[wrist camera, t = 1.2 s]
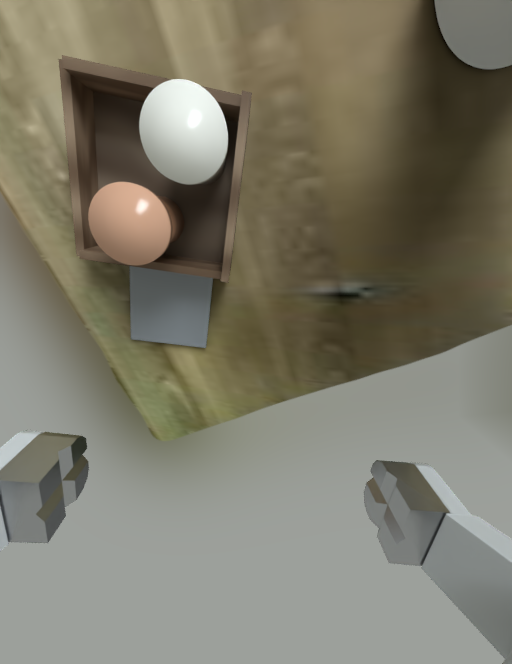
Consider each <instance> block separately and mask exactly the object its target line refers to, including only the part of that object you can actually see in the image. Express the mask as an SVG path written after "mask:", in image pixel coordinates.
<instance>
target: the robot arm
mask: <svg viewBox="0 0 512 664" xmlns="http://www.w3.org/2000/svg"><path fill="white" fill-rule="evenodd" d="M434 1H435V9H436V15H437V20H438V24H439V27H440V30H441V33H442V35H443V37H444V39H445V41H446V43H447V45H448V46H449V48H450V49H451V50H452V52H453V53H454V54H455V55H456V56H457V57H458V58H459V59H461V60H462V61H463V62H465V63H467V64H468V65H471V66H473V67H476V68H481V69H498V68H503V67H507V66H510V65H512V0H434ZM86 449H87V443H86V438H85V437H83V436H78V435H69V434H60V433H50V432H37V431H28V430H25V431H22V432H19V433H17V434H16V435H15V436H14V437H13V438H11V439H10V440H9V441H8V442H7V443H5V444H4V445H3V446H2V447H1V448H0V550H2V549H3V548H5V547H6V546H7V545H8V544H9V542H27V543H28V542H29V543H48V542H49V541H50V539H51V537H52V536H53V535H54V533H55V531H56V530H57V529H58V527H59V525H60V524H61V523H62V521H63V519H64V518H65V516H66V513H65V507H66V506H68V505H69V504H70V503H72V502H74V501H75V500H77V498H78V496H79V495H80V493H81V492H82V490H83V488H84V485H85V483H86V480H87V477H88V470H89V465H88V461H87V459H86V458H85V457H84V456H83V455H82V454H83V453H84V452H85V450H86ZM371 473H372V475H373V478H372V479H371V480H370V481H368V482H367V483H366V487H365V491H364V503H365V507H366V511H367V513H368V516H369V518H370V520H371V521H372V522H373V523H374V524H375V525H376V526H377V527H378V528H379V531H378V535H377V537H378V539H379V542H380V544H381V546H382V548H383V551H384V553H385V555H386V557H387V560H388V562H389V563H394V564H404V565H415V566H422V569H423V570H424V572H425V573H426V574H427V575H428V576H429V577H430V578H431V579H432V580H433V581H434V582H435V583H436V585H437V586H438V587H439V588H440V589H441V590H442V591H443V592H444V593H445V594H446V595H447V596H448V598H449V599H450V600H451V601H452V602H453V603H454V604H455V605H456V606H457V607H458V608H459V609H460V611H461V612H462V613H463V614H464V615H465V616H466V617H467V618H468V619H469V620H470V621H471V623H472V624H473V625H474V626H475V627H476V628H477V629H478V630H479V631H480V632H481V633H482V634H483V636H484V637H485V638H486V639H487V640H488V641H489V642H490V643H491V644H492V645H493V646H494V648H496V650H497V651H498V652H499V653H500V654H501V655H502V656H503V657H504V658H505V660H504V662H503V663H502V664H512V539H511V538H509V537H508V536H506V535H505V534H504V533H502V532H500V531H499V530H498V529H496V528H495V527H493V526H492V525H490V524H489V523H487V522H486V521H484V520H483V519H481V518H480V517H478V516H474V515H471V514H470V513H469V511H468V510H467V509H466V508H465V507H464V505H463V504H462V503H461V501H460V500H459V499H458V498H457V496H456V495H455V494H454V493H453V492H452V490H451V489H450V488H449V487H448V486H447V484H446V483H445V482H444V480H443V479H442V478H441V477H440V476H439V474H438V473H437V472H436V471H435V469H434V468H433V467H432V466H430V465H429V464H426V463H406V462H393V461H378V460H377V461H375V462H374V463H373V465H372V468H371Z"/></svg>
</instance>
